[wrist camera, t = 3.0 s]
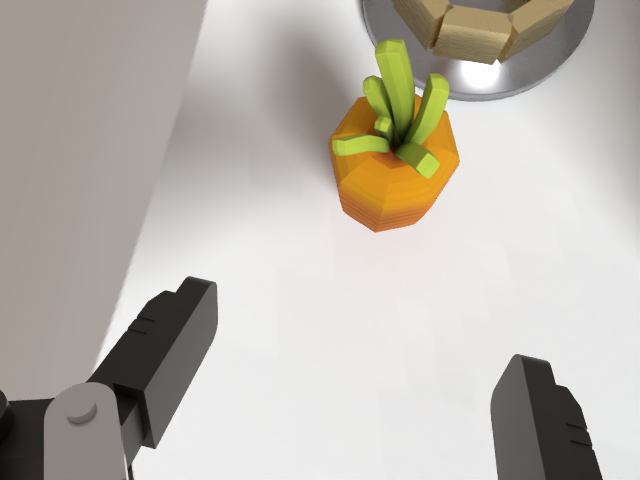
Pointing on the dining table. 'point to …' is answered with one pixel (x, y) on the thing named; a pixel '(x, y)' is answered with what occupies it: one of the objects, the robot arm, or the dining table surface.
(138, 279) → the dining table surface
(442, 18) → the hub socket
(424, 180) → the carrot
